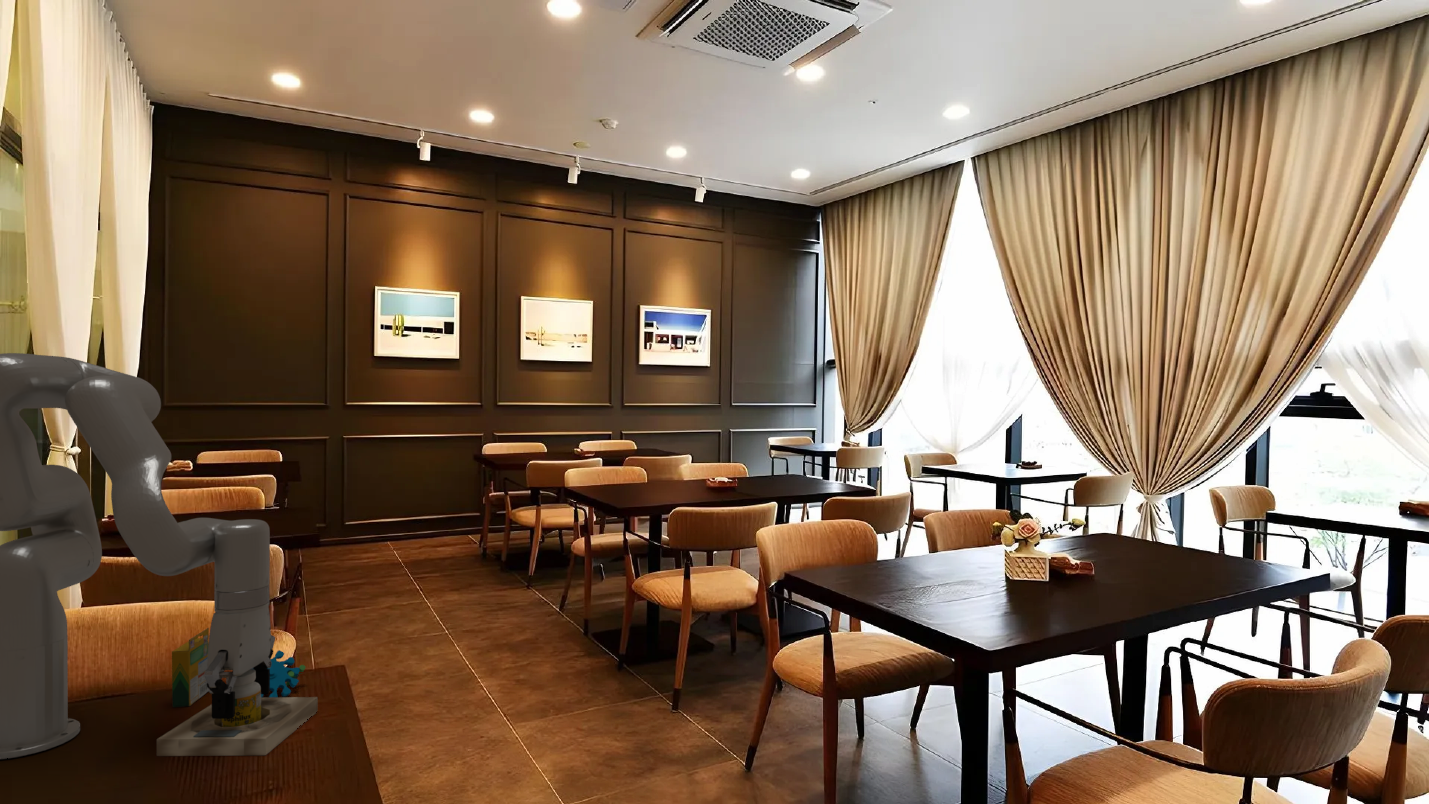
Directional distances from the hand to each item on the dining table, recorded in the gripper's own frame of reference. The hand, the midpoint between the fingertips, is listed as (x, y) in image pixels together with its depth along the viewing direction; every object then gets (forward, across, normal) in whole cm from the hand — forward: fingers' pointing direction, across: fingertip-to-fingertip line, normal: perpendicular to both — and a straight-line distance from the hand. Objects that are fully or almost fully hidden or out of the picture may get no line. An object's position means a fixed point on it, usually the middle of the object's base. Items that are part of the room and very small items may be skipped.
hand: (241, 705), depth 124 cm
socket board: (+4, 0, 0) cm, 4 cm away
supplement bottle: (+5, 0, 0) cm, 5 cm away
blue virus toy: (+5, -16, -4) cm, 17 cm away
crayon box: (+5, -14, -17) cm, 22 cm away
